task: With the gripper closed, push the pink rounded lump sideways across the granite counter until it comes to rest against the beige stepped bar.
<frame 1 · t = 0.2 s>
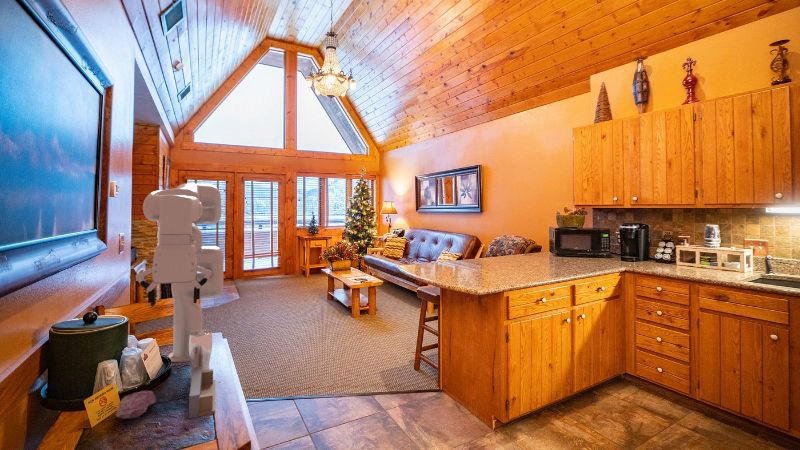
hand: (174, 303, 95), 31 cm above the table, tool pointing down, fingers open, 9 cm apart
beige stepped bar: (195, 400, 104), on the table
pink rounded lump: (136, 412, 97), on the table
beer glass: (200, 376, 119), on the table
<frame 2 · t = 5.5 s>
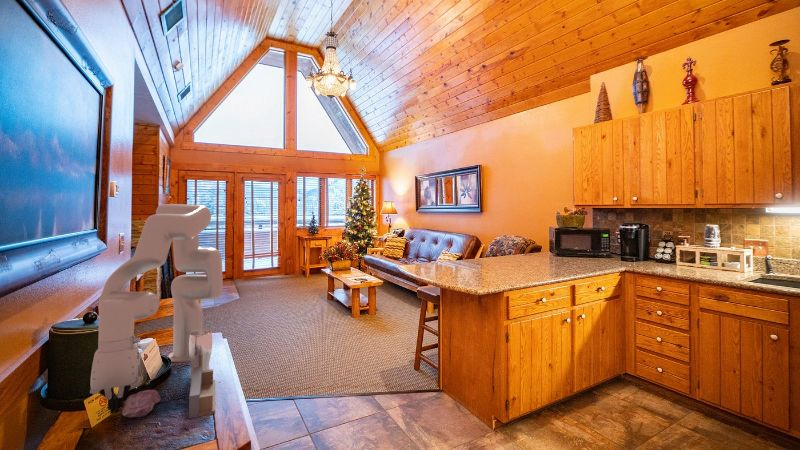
hand: (115, 410, 95), 1 cm above the table, tool pointing down, fingers closed
pink rounded lump: (141, 411, 98), on the table, touching gripper
everything else where it was.
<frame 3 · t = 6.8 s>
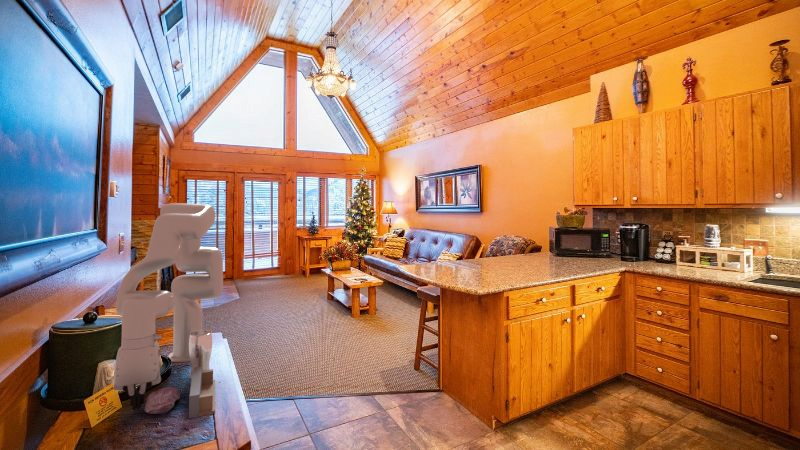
hand: (137, 406, 98), 1 cm above the table, tool pointing down, fingers closed
pink rounded lump: (162, 408, 100), on the table
everything else where it was.
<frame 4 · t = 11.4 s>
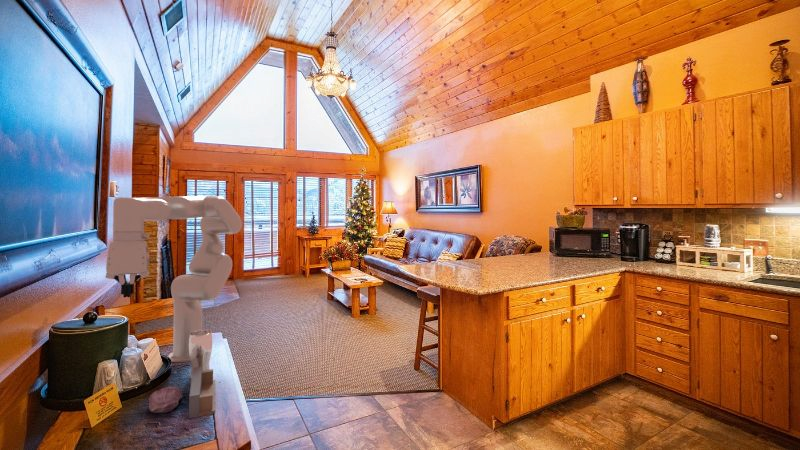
hand: (127, 296, 109), 29 cm above the table, tool pointing down, fingers closed
at the end: pink rounded lump inside the target area (0.1 cm from its centre), on the table; pink rounded lump moved 6.9 cm from its start; pink rounded lump tilted 0° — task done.
